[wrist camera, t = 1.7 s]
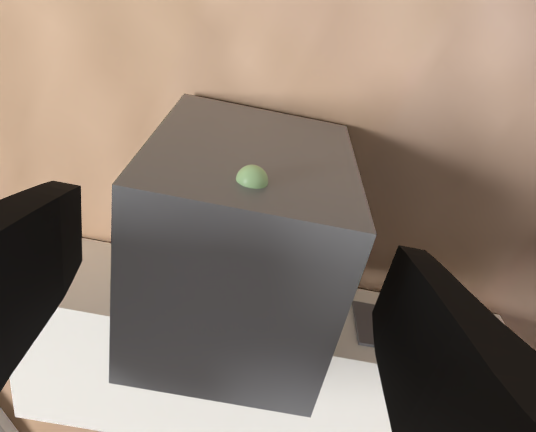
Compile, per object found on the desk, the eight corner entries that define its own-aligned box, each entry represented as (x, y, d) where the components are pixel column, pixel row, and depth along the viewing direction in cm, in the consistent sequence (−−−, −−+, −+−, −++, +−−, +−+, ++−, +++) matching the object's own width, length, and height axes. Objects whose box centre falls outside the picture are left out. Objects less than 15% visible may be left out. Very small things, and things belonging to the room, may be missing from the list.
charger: (349, 115, 12) (382, 219, 8) (294, 309, 16) (293, 465, 11) (185, 82, 12) (112, 167, 7) (166, 286, 16) (107, 434, 11)
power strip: (500, 312, 16) (555, 409, 12) (444, 409, 18) (477, 511, 15) (-73, 206, 15) (-179, 280, 11) (-48, 324, 17) (-129, 411, 14)
